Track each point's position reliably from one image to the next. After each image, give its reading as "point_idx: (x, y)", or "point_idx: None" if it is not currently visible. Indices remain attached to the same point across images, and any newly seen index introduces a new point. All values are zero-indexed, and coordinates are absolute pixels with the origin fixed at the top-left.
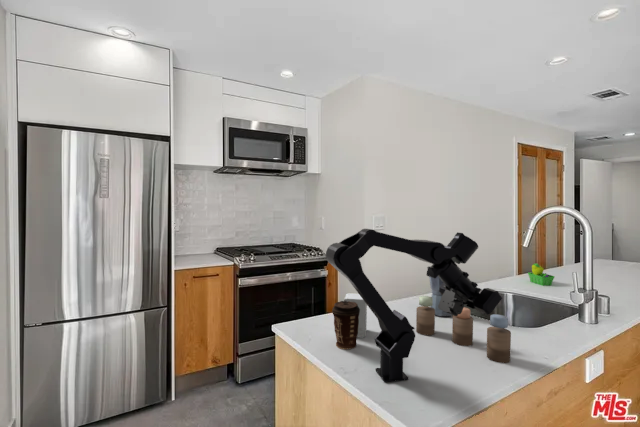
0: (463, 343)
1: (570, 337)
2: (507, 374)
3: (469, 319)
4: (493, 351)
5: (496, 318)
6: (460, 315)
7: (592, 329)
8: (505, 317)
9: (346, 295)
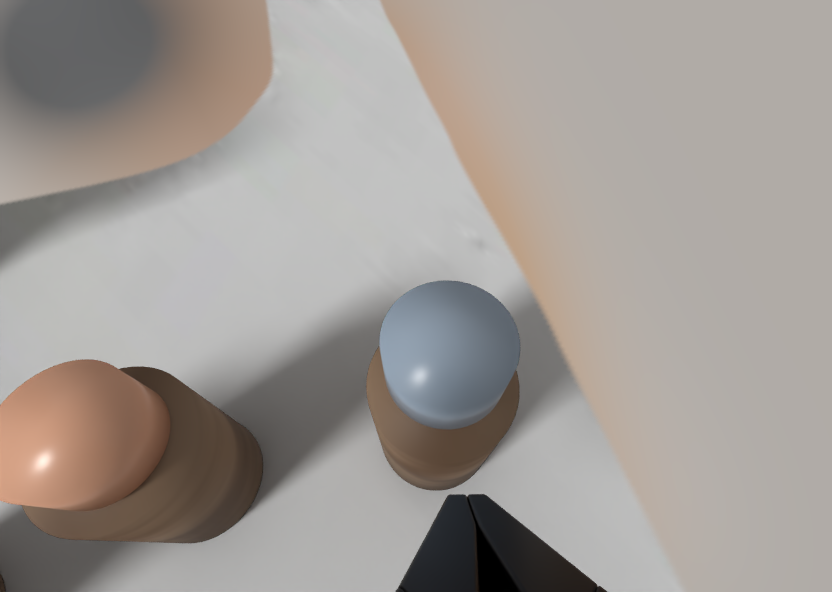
0: (241, 511)
1: (369, 73)
2: (598, 530)
3: (177, 425)
4: (461, 477)
5: (477, 390)
6: (102, 495)
7: (349, 2)
8: (472, 300)
9: None
